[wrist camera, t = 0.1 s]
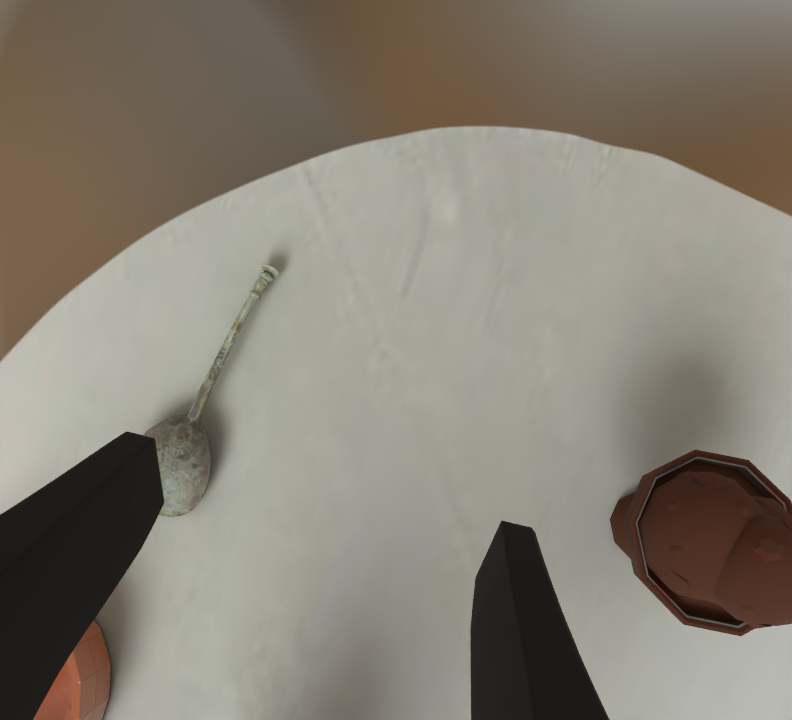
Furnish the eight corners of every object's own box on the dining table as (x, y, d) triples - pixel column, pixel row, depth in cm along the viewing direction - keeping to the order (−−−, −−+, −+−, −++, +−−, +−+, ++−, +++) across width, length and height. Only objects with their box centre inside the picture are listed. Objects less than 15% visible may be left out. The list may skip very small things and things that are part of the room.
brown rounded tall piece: (731, 496, 43) (911, 505, 28) (679, 628, 40) (846, 711, 26) (612, 432, 44) (726, 408, 29) (555, 557, 41) (648, 598, 27)
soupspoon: (120, 494, 42) (194, 527, 42) (99, 498, 39) (179, 533, 39) (240, 257, 46) (309, 286, 46) (230, 242, 43) (304, 273, 43)
